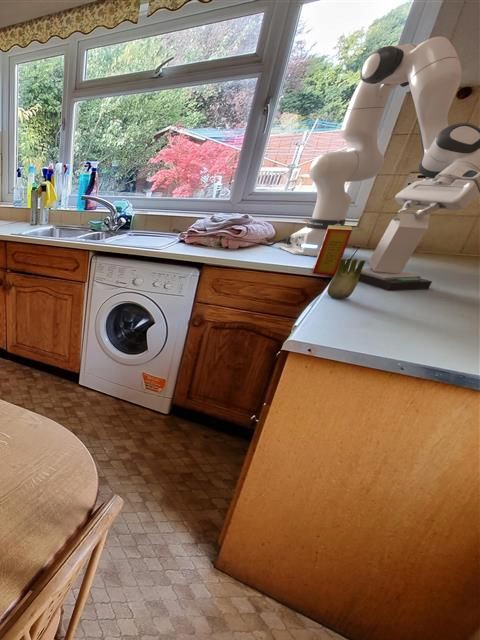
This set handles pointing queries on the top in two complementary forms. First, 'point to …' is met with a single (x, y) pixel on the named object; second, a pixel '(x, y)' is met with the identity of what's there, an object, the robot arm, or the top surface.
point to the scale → (393, 280)
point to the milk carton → (399, 242)
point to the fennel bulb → (345, 278)
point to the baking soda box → (332, 249)
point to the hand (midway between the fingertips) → (408, 215)
